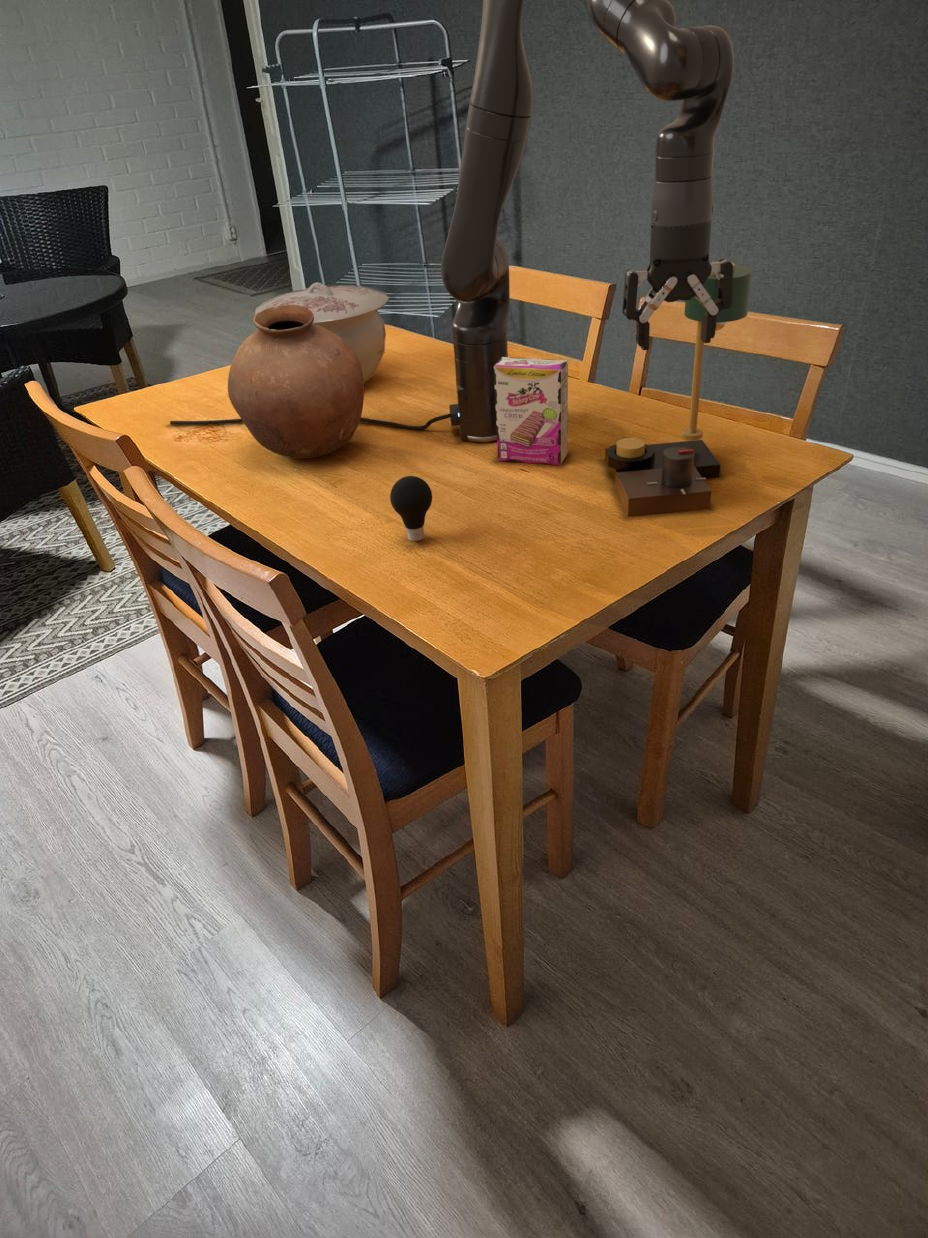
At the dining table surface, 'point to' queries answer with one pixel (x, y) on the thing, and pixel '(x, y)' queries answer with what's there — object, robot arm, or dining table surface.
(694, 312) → the desk lamp
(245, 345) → the pottery
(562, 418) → the candy bar box
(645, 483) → the dimmer panel
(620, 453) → the button
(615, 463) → the lamp base
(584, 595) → the dining table surface
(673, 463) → the dimmer knob
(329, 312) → the chamber pot
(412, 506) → the light bulb
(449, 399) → the dining table surface
